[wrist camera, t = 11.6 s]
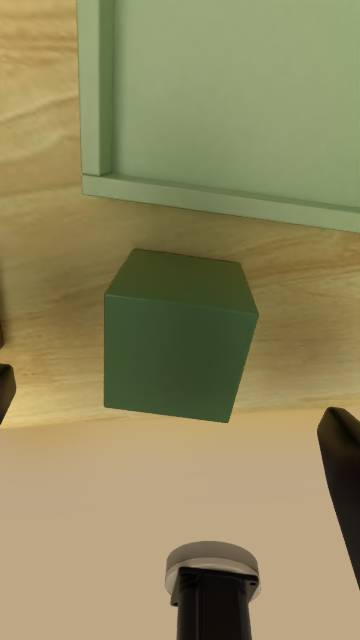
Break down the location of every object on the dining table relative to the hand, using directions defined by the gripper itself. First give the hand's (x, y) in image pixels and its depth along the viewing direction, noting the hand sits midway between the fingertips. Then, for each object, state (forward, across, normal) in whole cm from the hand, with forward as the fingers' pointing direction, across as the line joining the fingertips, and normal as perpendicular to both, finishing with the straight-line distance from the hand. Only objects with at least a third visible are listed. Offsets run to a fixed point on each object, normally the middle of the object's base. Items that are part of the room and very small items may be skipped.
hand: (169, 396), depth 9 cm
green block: (+6, 0, 0) cm, 6 cm away
